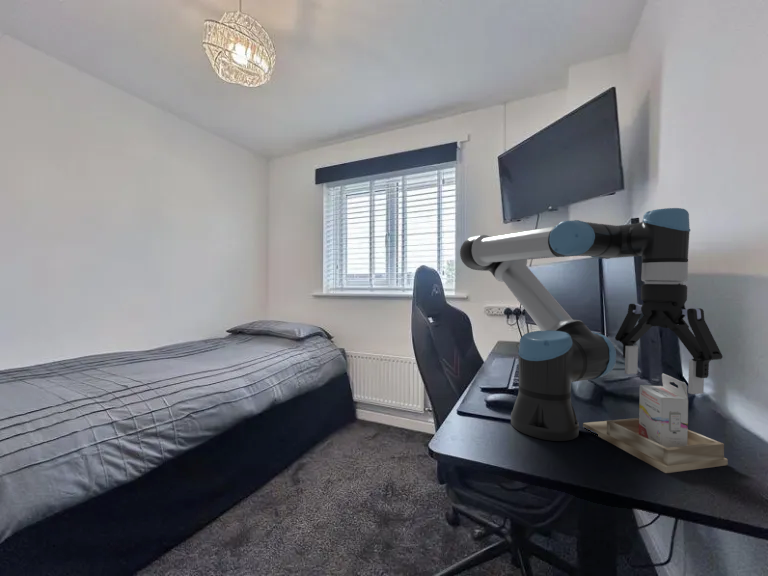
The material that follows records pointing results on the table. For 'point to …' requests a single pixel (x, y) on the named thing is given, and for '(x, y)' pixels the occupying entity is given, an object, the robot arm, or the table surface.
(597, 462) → the table surface
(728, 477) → the table surface
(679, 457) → the wooden tray
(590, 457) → the table surface
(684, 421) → the ink cartridge box
